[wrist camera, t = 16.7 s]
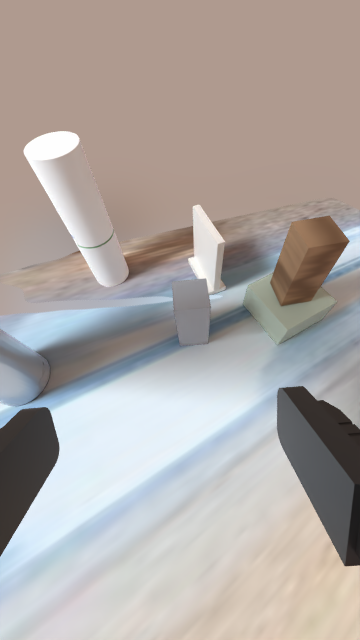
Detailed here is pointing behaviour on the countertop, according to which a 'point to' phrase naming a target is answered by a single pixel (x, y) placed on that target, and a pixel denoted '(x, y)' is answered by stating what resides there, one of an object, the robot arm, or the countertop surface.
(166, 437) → the countertop surface
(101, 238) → the cylindrical container
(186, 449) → the countertop surface
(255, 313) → the sage base block
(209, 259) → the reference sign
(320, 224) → the walnut block
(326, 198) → the countertop surface
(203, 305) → the slate block
